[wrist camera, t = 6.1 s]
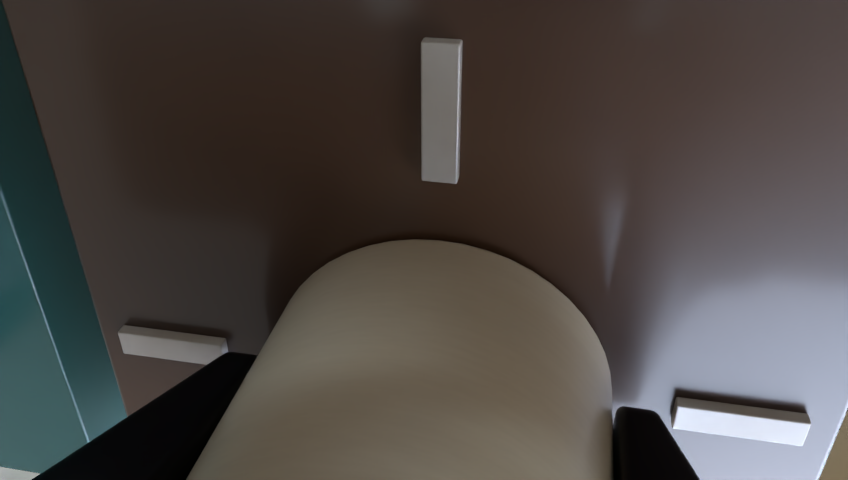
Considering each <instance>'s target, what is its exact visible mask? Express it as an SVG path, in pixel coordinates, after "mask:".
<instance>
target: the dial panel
mask: <svg viewBox="0 0 848 480" xmlns="http://www.w3.org/2000/svg"><path fill="white" fill-rule="evenodd" d="M2 4H3V7H4V10H5V14H6V17H7V20H8V24H9V27H10V30H11V33H12V37H13V40H14V43H15V47H16V50H17V53H18V57H19V60H20V63H21V67H22V70H23V73H24V77H25V80H26V83H27V86H28V90H29V93H30V96H31V100H32V103H33V106H34V110H35V113H36V116H37V120H38V123H39V126H40V130H41V133H42V136H43V139H44V143H45V146H46V149H47V153H48V156H49V159H50V163H51V166H52V169H53V173H54V176H55V179H56V183H57V186H58V189H59V192H60V196H61V199H62V202H63V206H64V209H65V212H66V216H67V219H68V222H69V226H70V229H71V232H72V236H73V239H74V242H75V245H76V249H77V252H78V255H79V259H80V262H81V265H82V269H83V272H84V275H85V279H86V282H87V285H88V289H89V292H90V295H91V298H92V302H93V305H94V308H95V312H96V315H97V318H98V322H99V325H100V328H101V332H102V335H103V338H104V342H105V345H106V348H107V351H108V355H109V358H110V361H111V365H112V368H113V371H114V375H115V378H116V381H117V385H118V388H119V391H120V395H121V398H122V401H123V404H124V408H125V411H126V414H127V417H128V416H129V415H131V414H133V413H134V412H136V411H137V410H139V409H140V408H142V407H143V406H145V405H146V404H148V403H149V402H151V401H152V400H154V399H155V398H157V397H158V396H160V395H161V394H163V393H164V392H166V391H168V390H169V389H171V388H172V387H174V386H175V385H177V384H178V383H180V382H181V381H183V380H184V379H186V378H187V377H189V376H190V375H192V374H193V373H195V372H196V371H198V370H199V369H201V368H203V367H204V366H206V365H207V364H209V363H210V362H212V361H213V360H215V359H216V358H218V357H219V356H221V355H223V354H224V353H227V352H239V353H246V354H253V355H257V356H258V354H259V353H260V351H261V349H262V348H263V346H264V344H265V342H266V341H267V339H268V337H269V335H270V334H271V332H272V330H273V329H274V327H275V325H276V323H277V322H278V320H279V318H280V316H281V315H282V313H283V311H284V310H285V308H286V306H287V304H288V303H289V301H290V299H291V298H292V297H293V295H294V294H295V292H296V291H297V290H298V288H299V287H300V286H301V285H302V284H303V283H304V282H305V281H306V280H307V279H308V278H309V277H310V276H311V275H312V274H313V273H314V272H316V271H317V270H319V269H320V268H321V267H323V266H324V265H326V264H327V263H328V262H330V261H332V260H334V259H336V258H338V257H340V256H342V255H344V254H346V253H348V252H351V251H354V250H357V249H360V248H363V247H366V246H369V245H373V244H378V243H383V242H388V241H396V240H410V239H424V240H442V241H448V242H455V243H461V244H466V245H470V246H473V247H477V248H481V249H485V250H488V251H491V252H493V253H496V254H498V255H501V256H503V257H506V258H509V259H511V260H513V261H515V262H517V263H519V264H521V265H522V266H524V267H526V268H528V269H530V270H532V271H533V272H535V273H536V274H538V275H539V276H541V277H542V278H544V279H545V280H547V281H548V282H550V283H551V284H552V285H554V286H555V287H556V288H557V289H558V290H559V291H560V292H562V293H563V294H564V295H565V296H566V297H567V298H568V299H569V300H570V301H571V302H572V303H573V304H574V305H575V306H576V308H577V309H578V310H579V311H580V312H581V313H582V314H583V315H584V317H585V318H586V320H587V321H588V323H589V324H590V326H591V327H592V329H593V330H594V332H595V333H596V335H597V337H598V339H599V341H600V343H601V345H602V347H603V350H604V352H605V355H606V358H607V362H608V365H609V369H610V374H611V384H612V410H613V423H614V418H615V413H616V411H617V409H618V408H620V407H622V406H626V407H633V408H641V409H648V410H653V411H655V412H656V413H657V414H658V415H659V416H660V417H661V419H662V421H663V422H664V424H665V425H666V427H667V428H668V430H669V431H670V433H671V435H672V436H673V438H674V439H675V441H676V442H677V444H678V446H679V447H680V449H681V450H682V452H683V453H684V455H685V457H686V458H687V460H688V461H689V463H690V464H691V466H692V468H693V469H694V471H695V472H696V474H697V475H698V477H699V479H700V480H819V477H820V475H821V473H822V470H823V468H824V465H825V463H826V461H827V458H828V456H829V453H830V451H831V449H832V446H833V444H834V441H835V439H836V437H837V434H838V432H839V429H840V427H841V425H842V422H843V420H844V417H845V415H846V413H847V410H848V0H2Z"/></svg>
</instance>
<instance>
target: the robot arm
mask: <svg viewBox="0 0 848 480" xmlns="http://www.w3.org/2000/svg"><path fill="white" fill-rule="evenodd" d="M256 358H257V355H253V354H246V353H239V352H227V353H224V354H223V355H221V356H219V357H218V358H216V359H215V360H213V361H212V362H210V363H209V364H207V365H206V366H204V367H203V368H201V369H199V370H198V371H196V372H195V373H193V374H192V375H190V376H189V377H187V378H186V379H184V380H183V381H181V382H180V383H178V384H177V385H175V386H174V387H172V388H171V389H169V390H168V391H166V392H164V393H163V394H161V395H160V396H158V397H157V398H155V399H154V400H152V401H151V402H149V403H148V404H146V405H145V406H143V407H142V408H140V409H139V410H137V411H136V412H134V413H133V414H131V415H129V416H128V417H126V418H125V419H123V420H122V421H120V422H119V423H117V424H116V425H114V426H113V427H111V428H110V429H108V430H107V431H105V432H104V433H102V434H101V435H99V436H98V437H96V438H94V439H93V440H91V441H90V442H88V443H87V444H85V445H84V446H82V447H81V448H79V449H78V450H76V451H75V452H73V453H72V454H70V455H69V456H67V457H66V458H64V459H63V460H61V461H59V462H58V463H56V464H55V465H53V466H52V467H50V468H49V469H47V470H46V471H44V472H43V473H41V474H40V475H38V476H37V477H35V478H34V479H32V480H186V479H187V477H188V475H189V474H190V472H191V470H192V468H193V467H194V465H195V463H196V462H197V460H198V458H199V456H200V455H201V453H202V451H203V449H204V448H205V446H206V444H207V443H208V441H209V439H210V437H211V436H212V434H213V432H214V430H215V429H216V427H217V425H218V424H219V422H220V420H221V418H222V417H223V415H224V413H225V411H226V410H227V408H228V406H229V405H230V403H231V401H232V399H233V398H234V396H235V394H236V392H237V391H238V389H239V387H240V386H241V384H242V382H243V380H244V379H245V377H246V375H247V373H248V372H249V370H250V368H251V367H252V365H253V363H254V361H255V360H256ZM613 451H614V480H700V479H699V477H698V475H697V474H696V472H695V471H694V469H693V468H692V466H691V464H690V463H689V461H688V460H687V458H686V457H685V455H684V453H683V452H682V450H681V449H680V447H679V446H678V444H677V442H676V441H675V439H674V438H673V436H672V435H671V433H670V431H669V430H668V428H667V427H666V425H665V424H664V422H663V421H662V419H661V417H660V416H659V415H658V414H657V413H656V412H655V411H653V410H648V409H641V408H633V407H626V406H622V407H620V408H618V409H617V411H616V413H615V418H614V423H613Z"/></svg>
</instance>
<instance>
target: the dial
mask: <svg viewBox="0 0 848 480" xmlns="http://www.w3.org/2000/svg"><path fill="white" fill-rule="evenodd" d="M186 480H614V451H613V410H612V384H611V374H610V369H609V365H608V362H607V358H606V355H605V352H604V350H603V347H602V345H601V343H600V341H599V339H598V337H597V335H596V333H595V332H594V330H593V329H592V327H591V326H590V324H589V323H588V321H587V320H586V318H585V317H584V315H583V314H582V313H581V312H580V311H579V310H578V309H577V308H576V306H575V305H574V304H573V303H572V302H571V301H570V300H569V299H568V298H567V297H566V296H565V295H564V294H563V293H562V292H560V291H559V290H558V289H557V288H556V287H555V286H554V285H552V284H551V283H550V282H548V281H547V280H545V279H544V278H542V277H541V276H539V275H538V274H536V273H535V272H533V271H532V270H530V269H528V268H526V267H524V266H522V265H521V264H519V263H517V262H515V261H513V260H511V259H509V258H506V257H503V256H501V255H498V254H496V253H493V252H491V251H488V250H485V249H481V248H477V247H473V246H470V245H466V244H461V243H455V242H448V241H442V240H424V239H410V240H396V241H388V242H383V243H378V244H373V245H369V246H366V247H363V248H360V249H357V250H354V251H351V252H348V253H346V254H344V255H342V256H340V257H338V258H336V259H334V260H332V261H330V262H328V263H327V264H326V265H324V266H323V267H321V268H320V269H319V270H317V271H316V272H314V273H313V274H312V275H311V276H310V277H309V278H308V279H307V280H306V281H305V282H304V283H303V284H302V285H301V286H300V287H299V288H298V290H297V291H296V292H295V294H294V295H293V297H292V298H291V299H290V301H289V303H288V304H287V306H286V308H285V310H284V311H283V313H282V315H281V316H280V318H279V320H278V322H277V323H276V325H275V327H274V329H273V330H272V332H271V334H270V335H269V337H268V339H267V341H266V342H265V344H264V346H263V348H262V349H261V351H260V353H259V354H258V356H257V358H256V360H255V361H254V363H253V365H252V367H251V368H250V370H249V372H248V373H247V375H246V377H245V379H244V380H243V382H242V384H241V386H240V387H239V389H238V391H237V392H236V394H235V396H234V398H233V399H232V401H231V403H230V405H229V406H228V408H227V410H226V411H225V413H224V415H223V417H222V418H221V420H220V422H219V424H218V425H217V427H216V429H215V430H214V432H213V434H212V436H211V437H210V439H209V441H208V443H207V444H206V446H205V448H204V449H203V451H202V453H201V455H200V456H199V458H198V460H197V462H196V463H195V465H194V467H193V468H192V470H191V472H190V474H189V475H188V477H187V479H186Z"/></svg>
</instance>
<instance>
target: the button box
mask: <svg viewBox="0 0 848 480" xmlns="http://www.w3.org/2000/svg"><path fill="white" fill-rule="evenodd" d="M126 417H127V414H126V411H125V408H124V404H123V401H122V398H121V395H120V391H119V388H118V385H117V381H116V378H115V375H114V371H113V368H112V365H111V361H110V358H109V355H108V351H107V348H106V345H105V342H104V338H103V335H102V332H101V328H100V325H99V322H98V318H97V315H96V312H95V308H94V305H93V302H92V298H91V295H90V292H89V289H88V285H87V282H86V279H85V275H84V272H83V269H82V265H81V262H80V259H79V255H78V252H77V249H76V245H75V242H74V239H73V236H72V232H71V229H70V226H69V222H68V219H67V216H66V212H65V209H64V206H63V202H62V199H61V196H60V192H59V189H58V186H57V183H56V179H55V176H54V173H53V169H52V166H51V163H50V159H49V156H48V153H47V149H46V146H45V143H44V139H43V136H42V133H41V130H40V126H39V123H38V120H37V116H36V113H35V110H34V106H33V103H32V100H31V96H30V93H29V90H28V86H27V83H26V80H25V77H24V73H23V70H22V67H21V63H20V60H19V57H18V53H17V50H16V47H15V43H14V40H13V37H12V33H11V30H10V27H9V24H8V20H7V17H6V14H5V10H4V7H3V4H2V0H0V467H6V468H12V469H18V470H24V471H30V472H36V473H43V472H44V471H46V470H47V469H49V468H50V467H52V466H53V465H55V464H56V463H58V462H59V461H61V460H63V459H64V458H66V457H67V456H69V455H70V454H72V453H73V452H75V451H76V450H78V449H79V448H81V447H82V446H84V445H85V444H87V443H88V442H90V441H91V440H93V439H94V438H96V437H98V436H99V435H101V434H102V433H104V432H105V431H107V430H108V429H110V428H111V427H113V426H114V425H116V424H117V423H119V422H120V421H122V420H123V419H125V418H126Z"/></svg>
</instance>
